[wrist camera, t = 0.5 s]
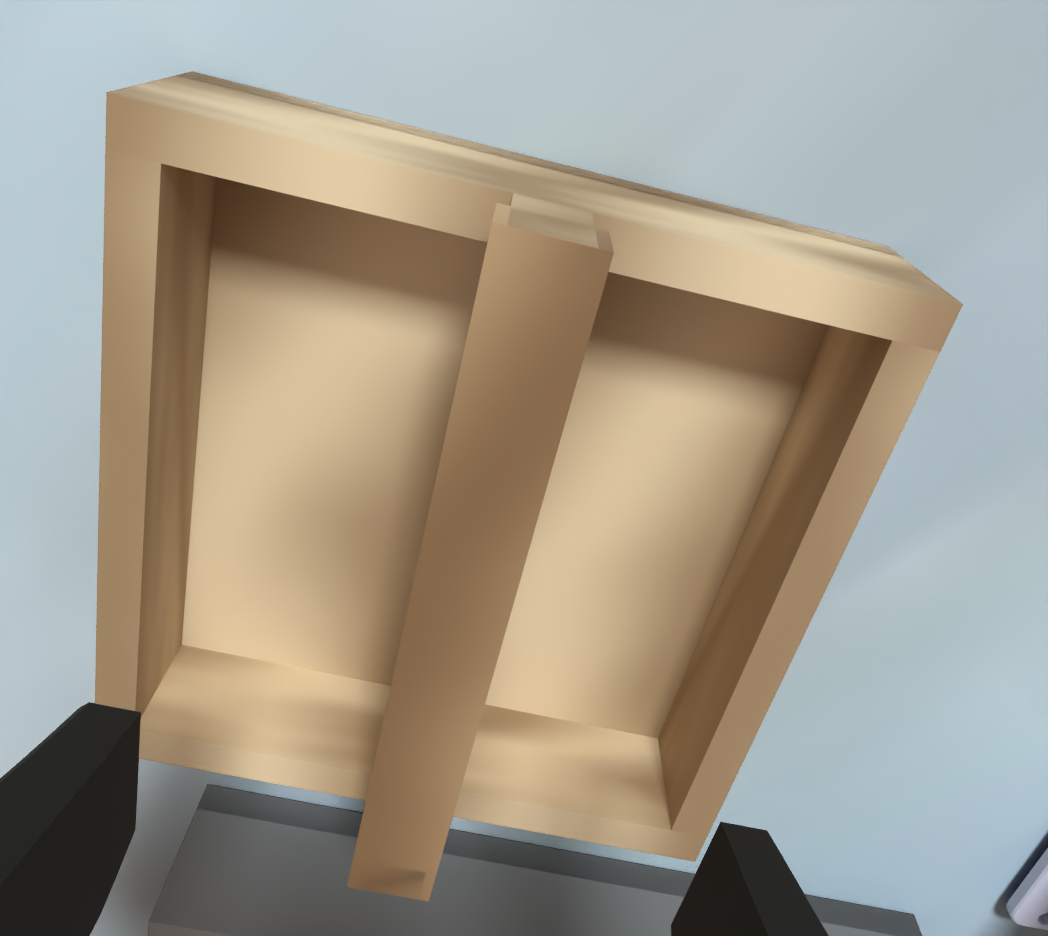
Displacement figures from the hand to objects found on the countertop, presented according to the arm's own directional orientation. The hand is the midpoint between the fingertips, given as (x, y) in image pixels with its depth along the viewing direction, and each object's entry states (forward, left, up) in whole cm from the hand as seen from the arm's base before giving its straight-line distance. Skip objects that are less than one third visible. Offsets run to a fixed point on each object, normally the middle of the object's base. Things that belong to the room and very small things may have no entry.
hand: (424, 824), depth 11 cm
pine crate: (0, 0, -9) cm, 9 cm away
